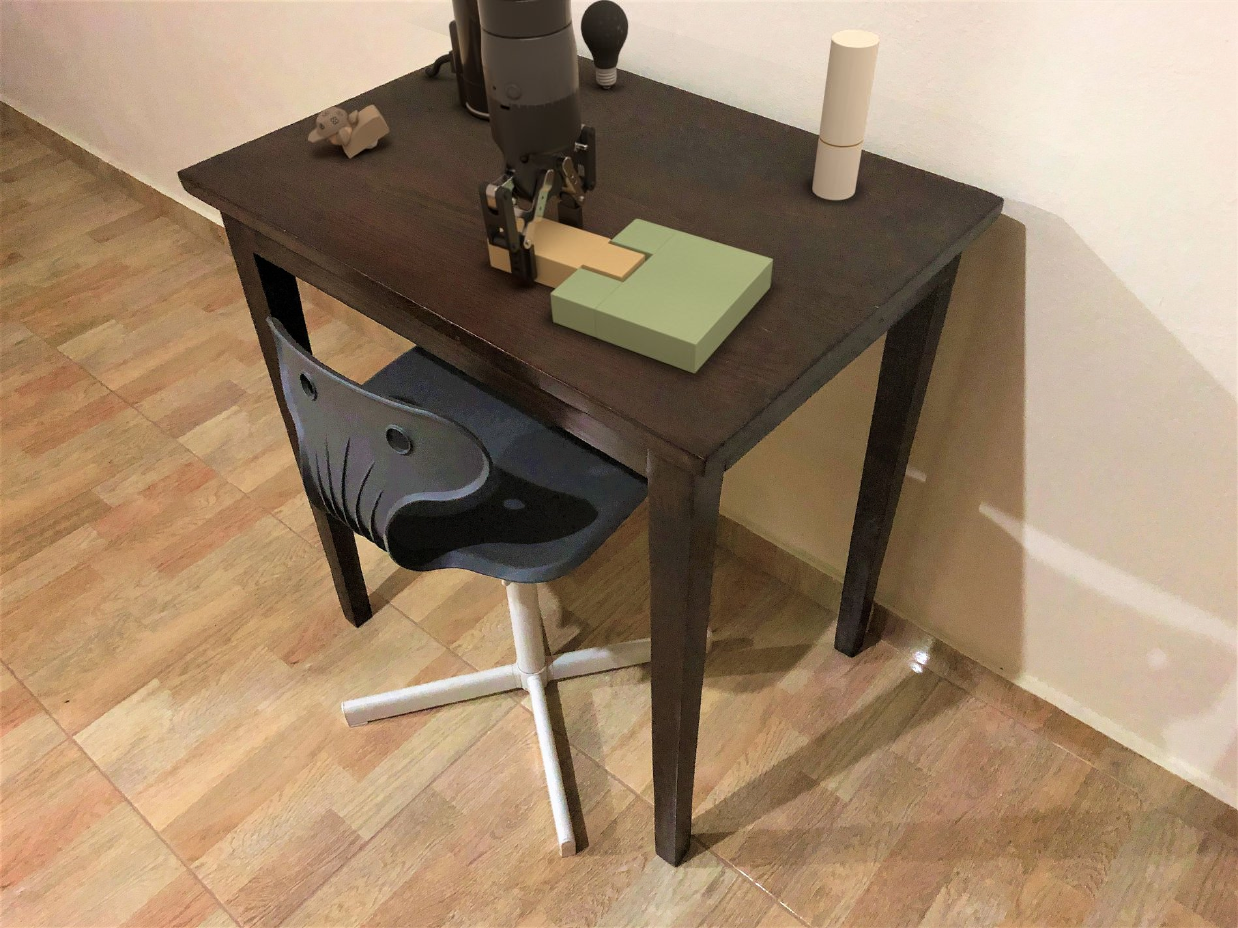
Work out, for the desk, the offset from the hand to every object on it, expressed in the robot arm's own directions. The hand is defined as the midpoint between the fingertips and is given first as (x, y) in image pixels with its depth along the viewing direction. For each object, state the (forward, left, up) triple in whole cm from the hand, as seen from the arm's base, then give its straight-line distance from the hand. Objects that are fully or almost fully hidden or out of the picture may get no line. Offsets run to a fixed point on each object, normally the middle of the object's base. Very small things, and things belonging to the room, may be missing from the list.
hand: (549, 259), depth 86 cm
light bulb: (-17, +36, -1) cm, 40 cm away
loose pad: (+2, 0, -1) cm, 2 cm away
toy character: (-33, +8, -1) cm, 34 cm away
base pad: (+12, 0, -1) cm, 12 cm away
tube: (+17, +26, -1) cm, 31 cm away
